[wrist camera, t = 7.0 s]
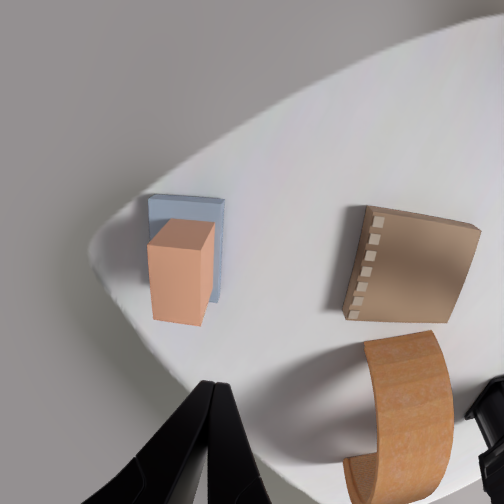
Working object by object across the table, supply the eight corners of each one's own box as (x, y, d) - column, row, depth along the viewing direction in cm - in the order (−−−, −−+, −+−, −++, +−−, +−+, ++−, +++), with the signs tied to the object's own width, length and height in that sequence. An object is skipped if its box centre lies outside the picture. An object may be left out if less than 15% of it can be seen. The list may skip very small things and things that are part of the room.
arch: (433, 328, 20) (487, 429, 11) (387, 453, 28) (401, 521, 19) (363, 339, 21) (399, 458, 12) (340, 461, 29) (348, 533, 20)
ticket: (440, 313, 19) (447, 323, 18) (342, 309, 19) (345, 320, 18) (472, 224, 16) (482, 231, 15) (367, 205, 16) (373, 212, 15)
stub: (220, 294, 19) (206, 342, 15) (158, 286, 19) (132, 330, 15) (224, 199, 17) (208, 228, 12) (154, 194, 17) (118, 220, 12)
